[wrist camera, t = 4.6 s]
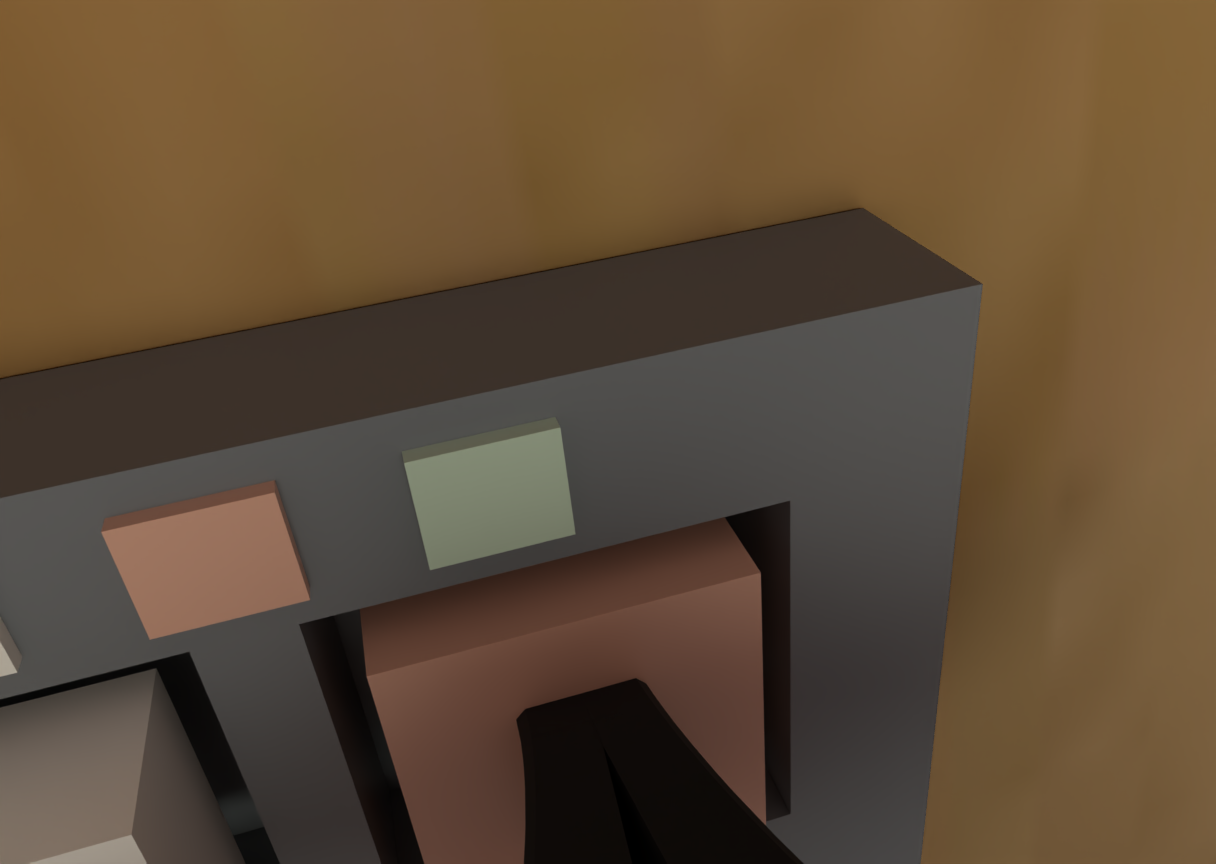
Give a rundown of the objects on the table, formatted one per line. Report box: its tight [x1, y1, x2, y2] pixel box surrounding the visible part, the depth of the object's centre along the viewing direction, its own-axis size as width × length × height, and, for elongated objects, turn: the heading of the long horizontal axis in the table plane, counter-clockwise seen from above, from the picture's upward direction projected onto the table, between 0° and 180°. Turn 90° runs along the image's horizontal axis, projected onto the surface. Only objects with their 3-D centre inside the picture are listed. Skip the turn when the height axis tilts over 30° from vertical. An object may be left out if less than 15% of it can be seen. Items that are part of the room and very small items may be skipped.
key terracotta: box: [360, 517, 766, 864], centre depth 12 cm, size 4×4×2 cm
